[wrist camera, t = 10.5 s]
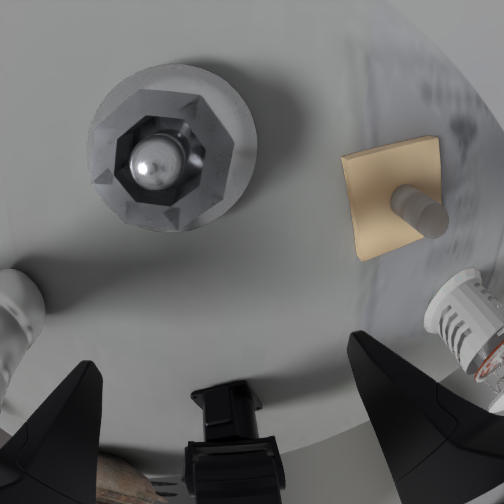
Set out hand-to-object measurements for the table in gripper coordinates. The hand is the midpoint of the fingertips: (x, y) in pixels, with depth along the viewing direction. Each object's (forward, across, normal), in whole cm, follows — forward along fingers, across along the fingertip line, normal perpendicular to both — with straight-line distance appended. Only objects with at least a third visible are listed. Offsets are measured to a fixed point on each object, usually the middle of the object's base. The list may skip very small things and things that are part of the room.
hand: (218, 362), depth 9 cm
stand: (+11, -14, -1) cm, 18 cm away
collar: (+10, +2, -5) cm, 11 cm away
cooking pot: (+13, +29, +45) cm, 55 cm away
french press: (+12, -26, +14) cm, 32 cm away
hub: (+11, +2, -5) cm, 13 cm away
